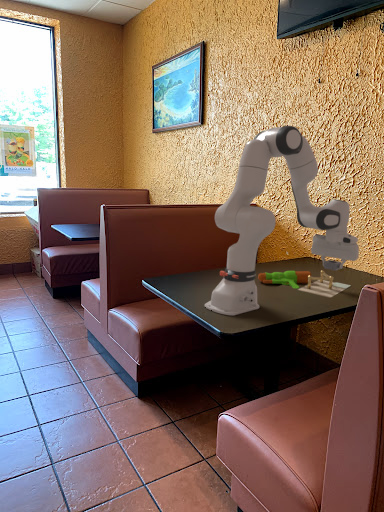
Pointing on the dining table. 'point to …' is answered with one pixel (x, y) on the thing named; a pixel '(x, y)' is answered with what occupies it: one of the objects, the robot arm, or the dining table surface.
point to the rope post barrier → (321, 279)
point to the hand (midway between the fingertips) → (332, 267)
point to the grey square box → (331, 265)
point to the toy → (285, 277)
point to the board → (322, 289)
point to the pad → (341, 285)
